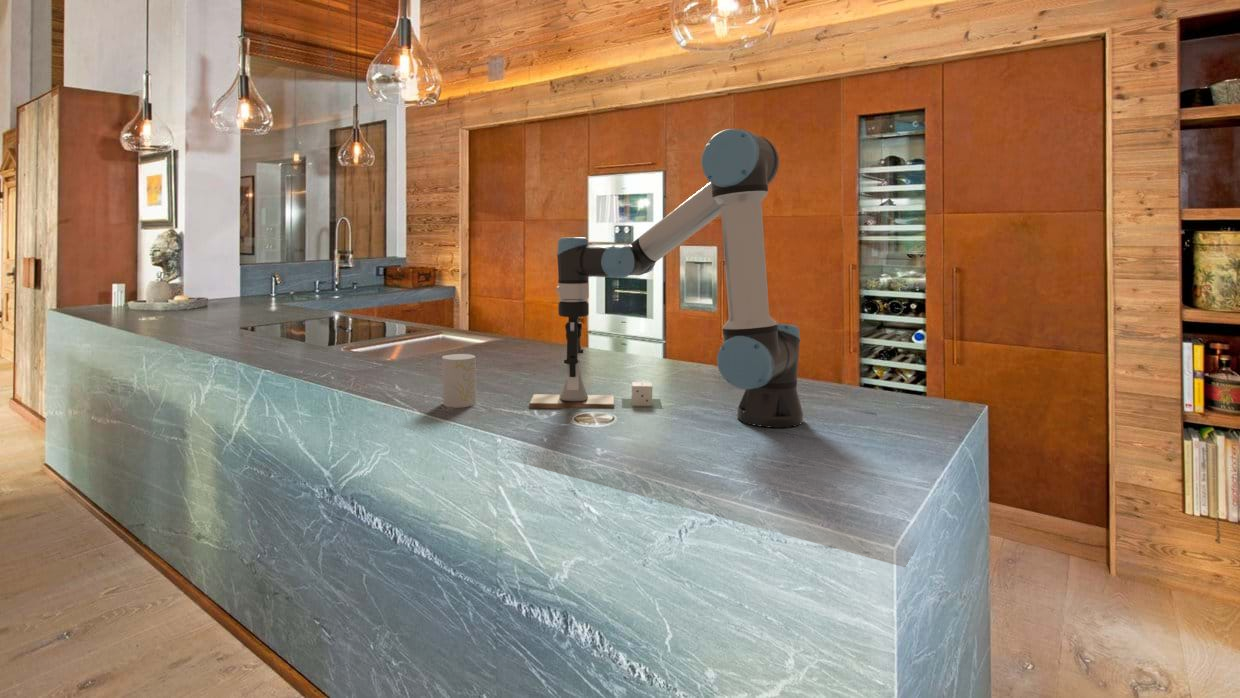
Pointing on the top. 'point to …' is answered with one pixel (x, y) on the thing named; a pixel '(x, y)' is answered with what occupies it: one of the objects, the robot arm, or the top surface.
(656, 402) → the mat
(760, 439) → the top surface
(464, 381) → the white upright cylinder
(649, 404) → the die
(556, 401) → the board
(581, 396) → the flask
